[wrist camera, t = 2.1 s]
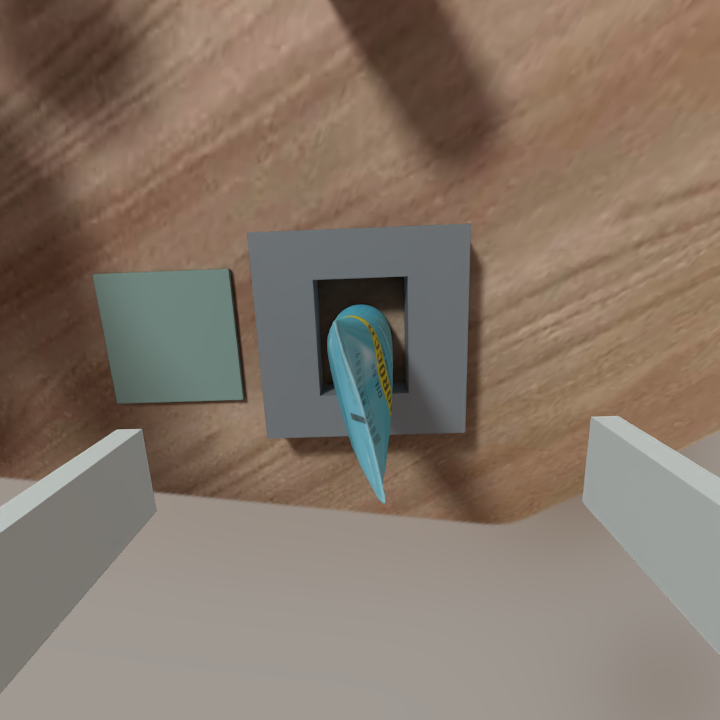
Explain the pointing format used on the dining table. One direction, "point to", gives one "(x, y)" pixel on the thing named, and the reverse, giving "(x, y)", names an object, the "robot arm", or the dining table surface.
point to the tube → (364, 385)
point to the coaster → (170, 335)
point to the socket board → (421, 314)
